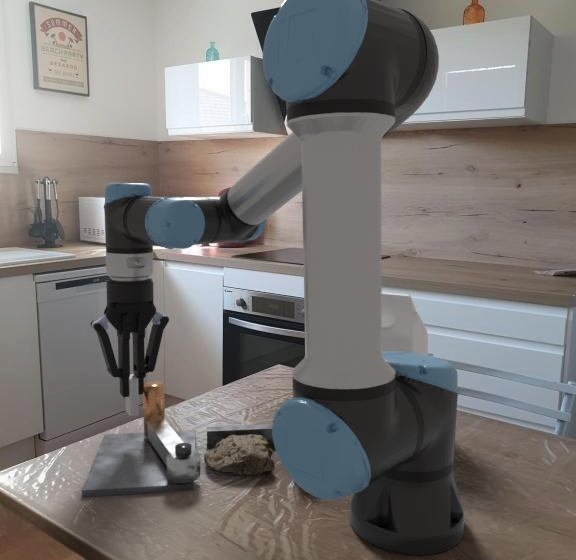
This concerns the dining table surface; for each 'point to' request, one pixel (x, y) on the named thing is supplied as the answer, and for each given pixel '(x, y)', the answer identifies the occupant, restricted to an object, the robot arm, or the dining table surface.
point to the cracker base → (150, 461)
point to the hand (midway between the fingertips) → (132, 413)
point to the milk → (402, 325)
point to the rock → (241, 455)
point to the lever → (166, 436)
